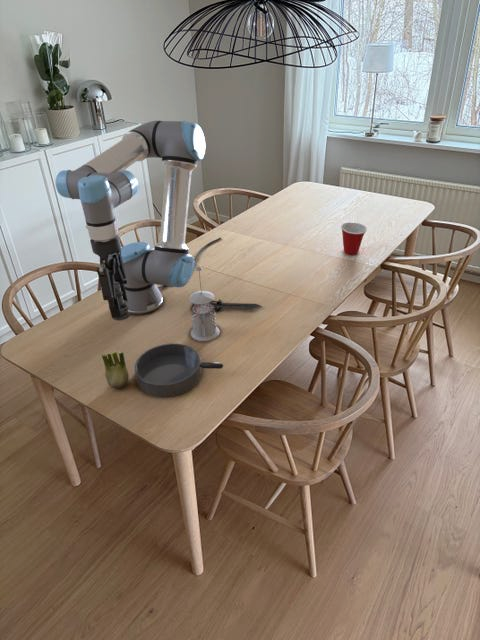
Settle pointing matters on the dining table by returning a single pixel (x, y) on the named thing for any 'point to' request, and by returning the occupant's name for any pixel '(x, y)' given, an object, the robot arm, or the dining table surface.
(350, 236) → the plastic cup
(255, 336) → the dining table surface
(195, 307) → the french press
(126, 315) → the salt shaker
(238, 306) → the knife
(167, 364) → the pan
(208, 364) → the pan handle
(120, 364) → the fennel bulb
